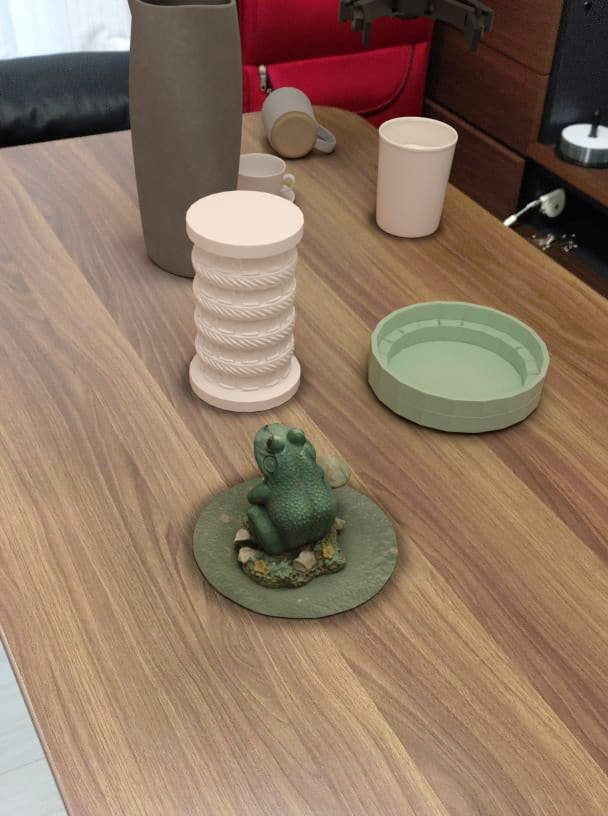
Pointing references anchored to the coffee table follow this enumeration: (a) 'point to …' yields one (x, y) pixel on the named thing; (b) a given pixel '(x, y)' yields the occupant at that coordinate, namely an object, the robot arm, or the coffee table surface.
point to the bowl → (457, 366)
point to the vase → (183, 115)
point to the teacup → (264, 175)
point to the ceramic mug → (293, 124)
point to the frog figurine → (295, 534)
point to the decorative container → (244, 299)
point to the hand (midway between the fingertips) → (421, 37)
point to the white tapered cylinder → (413, 174)
